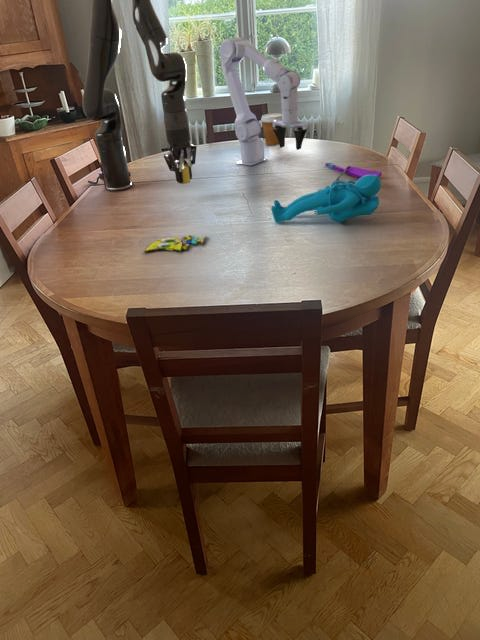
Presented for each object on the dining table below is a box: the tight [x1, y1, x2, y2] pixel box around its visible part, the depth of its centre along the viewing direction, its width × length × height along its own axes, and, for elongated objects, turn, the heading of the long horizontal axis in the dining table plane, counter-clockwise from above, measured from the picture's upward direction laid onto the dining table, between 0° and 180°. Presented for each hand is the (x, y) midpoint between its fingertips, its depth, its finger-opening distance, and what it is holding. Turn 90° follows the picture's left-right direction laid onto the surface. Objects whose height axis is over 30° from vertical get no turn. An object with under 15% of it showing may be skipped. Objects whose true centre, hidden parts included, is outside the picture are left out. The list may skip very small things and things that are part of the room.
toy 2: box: [270, 175, 382, 224], centre depth 134 cm, size 17×11×30 cm
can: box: [179, 165, 191, 185], centre depth 158 cm, size 4×4×5 cm
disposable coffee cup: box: [260, 112, 282, 146], centre depth 214 cm, size 10×10×12 cm
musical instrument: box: [324, 162, 382, 185], centre depth 168 cm, size 24×2×20 cm
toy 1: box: [144, 234, 207, 254], centre depth 130 cm, size 10×1×15 cm
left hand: (184, 180), depth 159 cm, fingers closed on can, 3 cm apart
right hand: (290, 148), depth 181 cm, fingers open, 7 cm apart
